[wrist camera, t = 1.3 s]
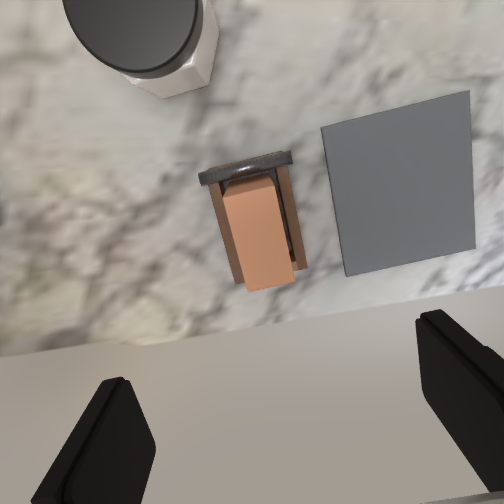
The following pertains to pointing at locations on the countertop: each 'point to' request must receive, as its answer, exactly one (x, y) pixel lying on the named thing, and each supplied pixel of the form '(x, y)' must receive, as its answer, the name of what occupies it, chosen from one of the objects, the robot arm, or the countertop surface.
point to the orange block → (258, 232)
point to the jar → (150, 40)
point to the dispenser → (280, 163)
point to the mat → (403, 183)
